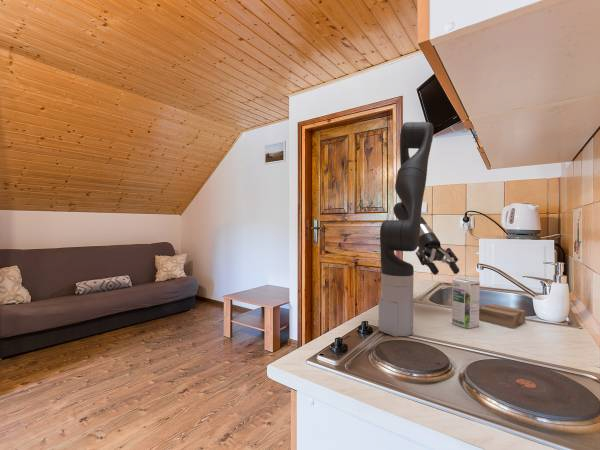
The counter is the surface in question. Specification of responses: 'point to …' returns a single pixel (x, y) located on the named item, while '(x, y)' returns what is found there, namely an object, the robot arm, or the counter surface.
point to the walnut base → (502, 315)
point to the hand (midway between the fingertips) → (447, 273)
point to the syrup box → (465, 302)
